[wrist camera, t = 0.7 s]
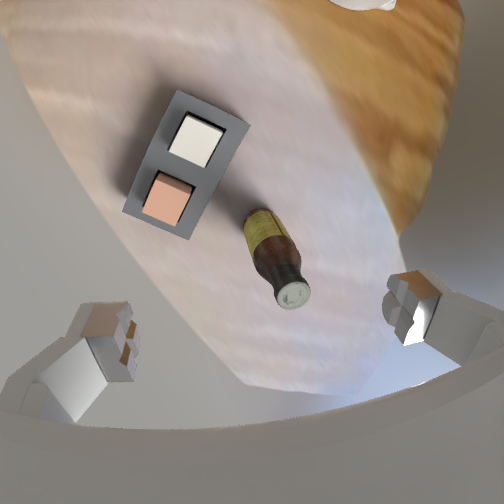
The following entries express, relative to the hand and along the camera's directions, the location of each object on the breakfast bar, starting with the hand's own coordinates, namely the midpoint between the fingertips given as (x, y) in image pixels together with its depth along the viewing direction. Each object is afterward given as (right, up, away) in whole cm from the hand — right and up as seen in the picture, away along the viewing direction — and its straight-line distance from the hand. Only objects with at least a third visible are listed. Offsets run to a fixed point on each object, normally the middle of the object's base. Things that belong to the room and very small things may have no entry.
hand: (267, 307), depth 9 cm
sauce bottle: (+1, +6, +42) cm, 42 cm away
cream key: (-8, +17, +30) cm, 35 cm away
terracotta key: (-12, +10, +33) cm, 37 cm away
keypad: (-11, +15, +35) cm, 40 cm away
